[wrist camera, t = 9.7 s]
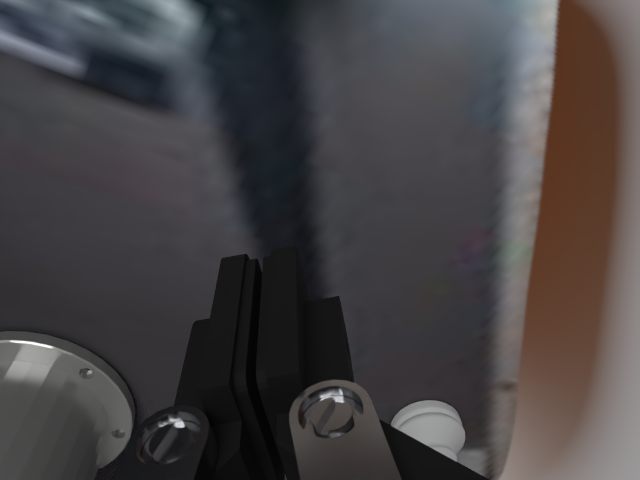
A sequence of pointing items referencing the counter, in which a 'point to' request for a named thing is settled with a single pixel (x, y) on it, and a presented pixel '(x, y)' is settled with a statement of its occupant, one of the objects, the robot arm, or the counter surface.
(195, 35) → the counter surface
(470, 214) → the counter surface
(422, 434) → the chess pawn
